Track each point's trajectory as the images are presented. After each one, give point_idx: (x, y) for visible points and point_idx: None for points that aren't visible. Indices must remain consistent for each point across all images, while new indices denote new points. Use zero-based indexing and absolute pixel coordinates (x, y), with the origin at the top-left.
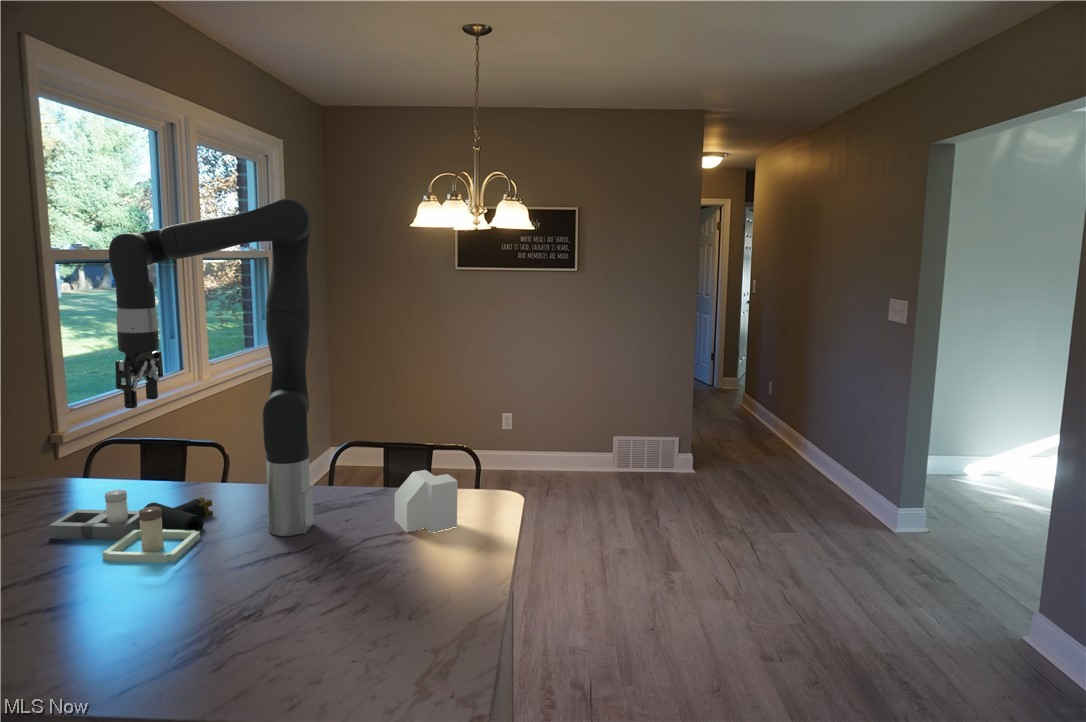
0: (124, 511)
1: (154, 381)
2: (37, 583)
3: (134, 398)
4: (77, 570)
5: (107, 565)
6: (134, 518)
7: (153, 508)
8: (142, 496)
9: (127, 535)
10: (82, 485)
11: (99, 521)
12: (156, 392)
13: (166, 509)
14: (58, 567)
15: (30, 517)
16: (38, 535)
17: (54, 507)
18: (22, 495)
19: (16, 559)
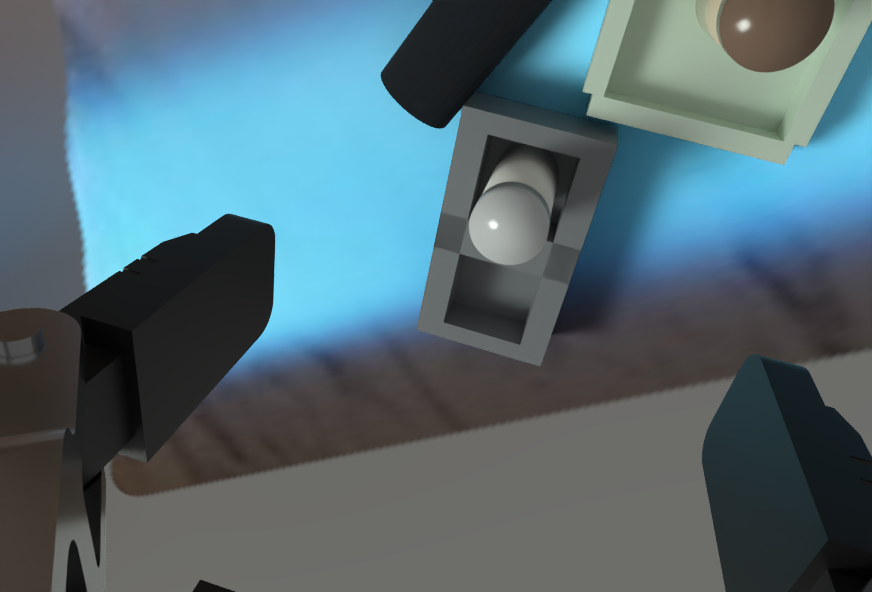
0: (535, 171)
1: (93, 365)
2: (852, 295)
3: (844, 460)
4: (796, 216)
5: None
6: (534, 130)
7: (755, 8)
8: (202, 184)
9: (639, 122)
10: None
11: None
12: (221, 251)
13: (481, 22)
14: (746, 273)
15: (359, 414)
16: (484, 372)
17: (294, 381)
18: (220, 457)
19: (643, 381)
